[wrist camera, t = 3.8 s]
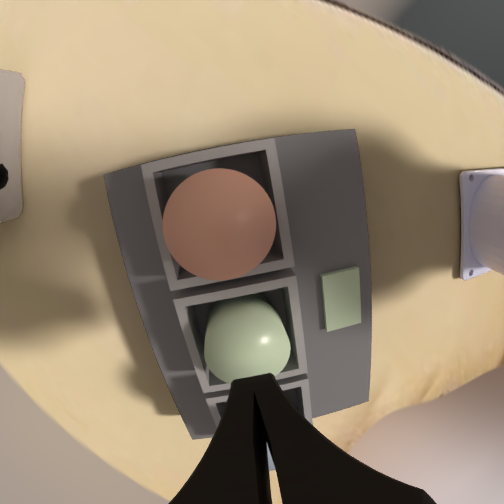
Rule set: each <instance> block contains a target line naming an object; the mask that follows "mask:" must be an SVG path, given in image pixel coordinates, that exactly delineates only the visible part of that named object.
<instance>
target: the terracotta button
mask: <svg viewBox="0 0 504 504" xmlns="http://www.w3.org/2000/svg"><path fill="white" fill-rule="evenodd" d="M275 232H276V216H275V211H274V207H273V205H272V202H271V200H270V198H269V196H268V194H267V193H266V192H265V190H264V189H263V188H262V187H261V186H260V185H259V184H258V183H257V182H256V181H255V180H253V179H252V178H250V177H249V176H247V175H245V174H243V173H241V172H238V171H235V170H231V169H224V168H216V169H208V170H204V171H201V172H198V173H196V174H194V175H192V176H190V177H189V178H187V179H186V180H184V181H183V182H182V183H181V184H180V185H179V186H178V187H177V188H176V189H175V190H174V192H173V193H172V194H171V196H170V198H169V200H168V202H167V204H166V207H165V210H164V215H163V235H164V239H165V242H166V245H167V247H168V250H169V252H170V253H171V255H172V256H173V258H174V259H175V260H176V261H177V263H178V264H180V265H181V266H182V267H183V268H184V269H186V270H187V271H188V272H190V273H192V274H194V275H196V276H198V277H201V278H204V279H208V280H230V279H234V278H237V277H240V276H242V275H245V274H246V273H248V272H250V271H251V270H253V269H254V268H255V267H257V266H258V265H259V264H260V263H261V262H262V261H263V259H264V258H265V257H266V255H267V254H268V252H269V251H270V248H271V246H272V244H273V241H274V238H275Z"/></svg>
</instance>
